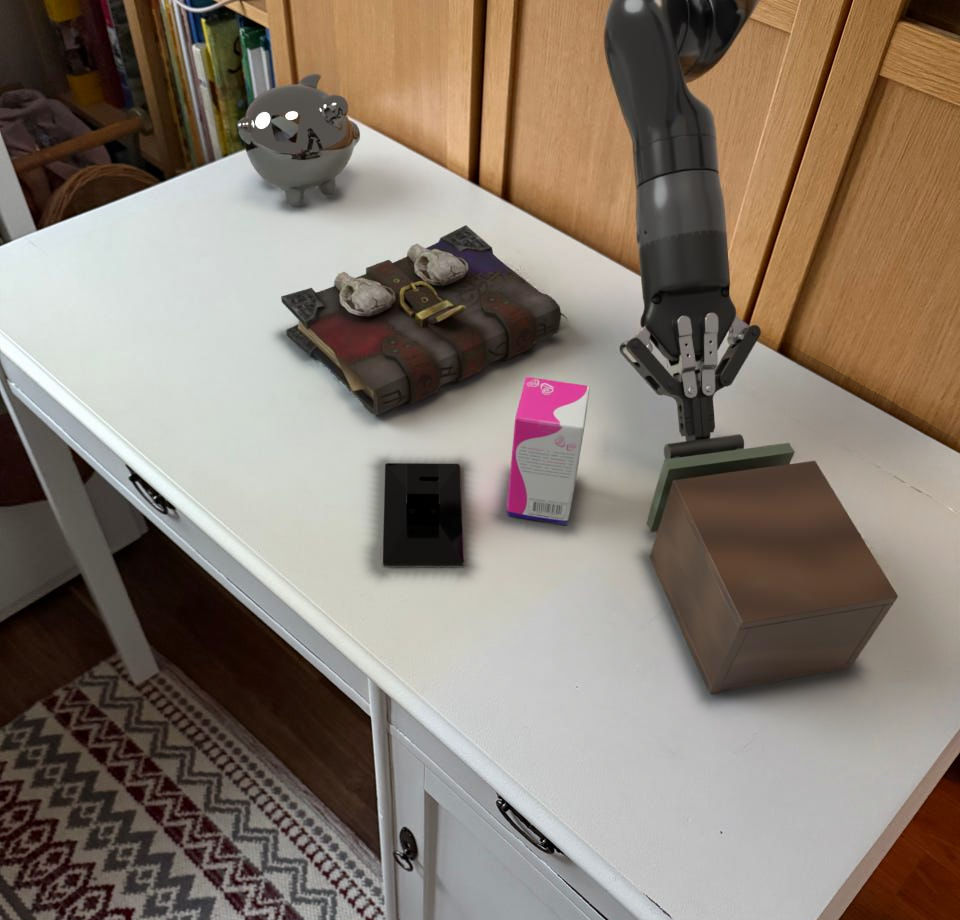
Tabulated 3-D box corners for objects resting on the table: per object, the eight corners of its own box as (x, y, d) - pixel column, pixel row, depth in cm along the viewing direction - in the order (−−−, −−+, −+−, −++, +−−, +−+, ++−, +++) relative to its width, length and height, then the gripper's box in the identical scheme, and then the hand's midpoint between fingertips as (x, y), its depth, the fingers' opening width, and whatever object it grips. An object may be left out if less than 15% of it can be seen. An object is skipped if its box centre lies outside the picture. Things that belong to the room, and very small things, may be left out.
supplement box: (575, 481, 88) (593, 384, 79) (567, 526, 85) (585, 431, 76) (514, 471, 89) (525, 373, 79) (504, 516, 85) (514, 419, 76)
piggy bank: (380, 195, 115) (377, 97, 106) (267, 226, 110) (253, 126, 101) (339, 152, 121) (332, 55, 111) (229, 180, 115) (212, 81, 106)
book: (372, 430, 91) (368, 368, 85) (280, 333, 99) (271, 270, 93) (581, 337, 101) (590, 276, 95) (482, 256, 109) (485, 195, 103)
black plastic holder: (463, 568, 82) (465, 532, 78) (379, 568, 81) (377, 532, 78) (459, 466, 89) (461, 429, 85) (382, 465, 88) (380, 428, 85)
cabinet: (649, 557, 83) (672, 479, 76) (779, 537, 86) (815, 460, 78) (709, 693, 75) (742, 623, 68) (851, 668, 77) (898, 596, 70)
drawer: (630, 488, 87) (647, 424, 81) (744, 472, 89) (769, 409, 83) (699, 643, 77) (724, 583, 71) (825, 621, 79) (860, 561, 73)
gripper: (624, 233, 77) (644, 448, 80) (773, 220, 79) (786, 429, 82) (595, 255, 84) (614, 451, 87) (732, 243, 86) (746, 434, 89)
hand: (698, 440), depth 85 cm, fingers closed
